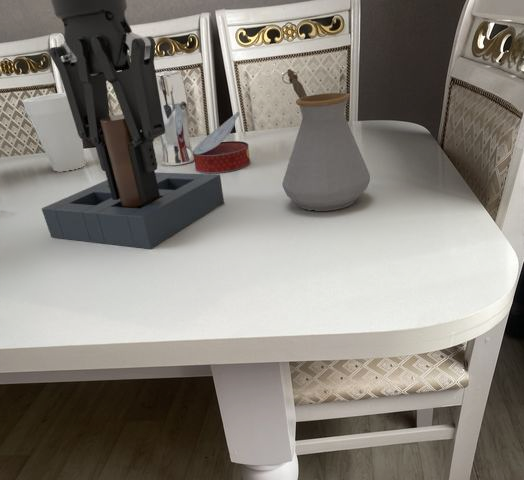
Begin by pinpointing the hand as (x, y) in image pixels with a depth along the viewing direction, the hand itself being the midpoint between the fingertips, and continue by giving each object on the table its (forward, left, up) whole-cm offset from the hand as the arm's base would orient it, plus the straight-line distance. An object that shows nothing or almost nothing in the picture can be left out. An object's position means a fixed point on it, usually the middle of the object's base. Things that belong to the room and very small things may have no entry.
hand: (136, 196), depth 66 cm
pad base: (-4, +4, -5) cm, 7 cm away
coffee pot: (+16, +19, -5) cm, 25 cm away
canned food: (-7, +31, -5) cm, 32 cm away
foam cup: (-41, +27, -5) cm, 49 cm away
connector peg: (0, 0, -1) cm, 1 cm away
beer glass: (-18, +33, -5) cm, 37 cm away
